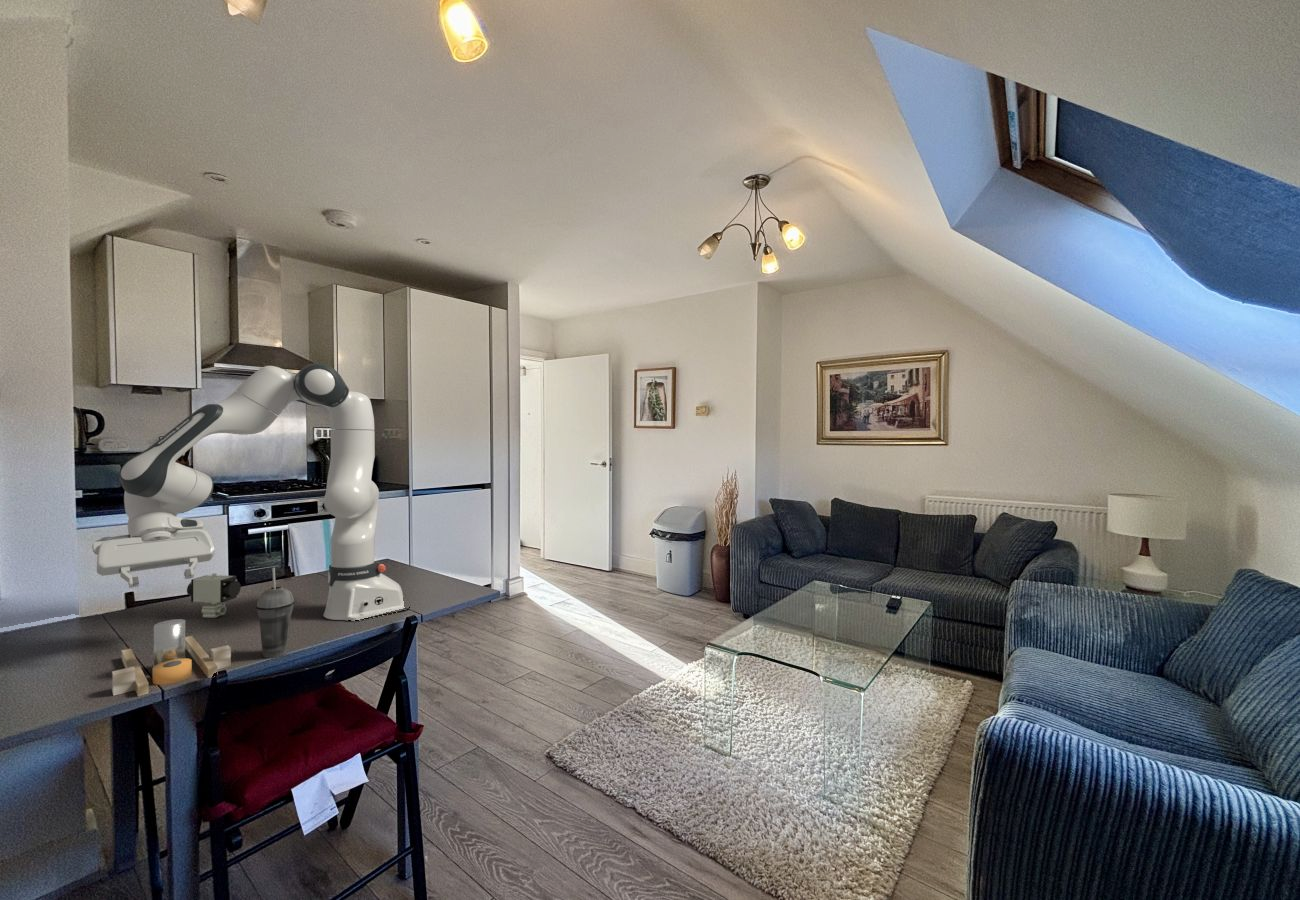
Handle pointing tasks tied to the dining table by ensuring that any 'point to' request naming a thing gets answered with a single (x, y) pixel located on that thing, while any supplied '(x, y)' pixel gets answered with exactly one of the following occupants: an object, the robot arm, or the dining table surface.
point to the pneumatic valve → (213, 593)
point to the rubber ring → (172, 671)
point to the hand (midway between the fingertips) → (162, 581)
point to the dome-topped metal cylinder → (169, 640)
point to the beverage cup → (275, 619)
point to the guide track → (137, 681)
